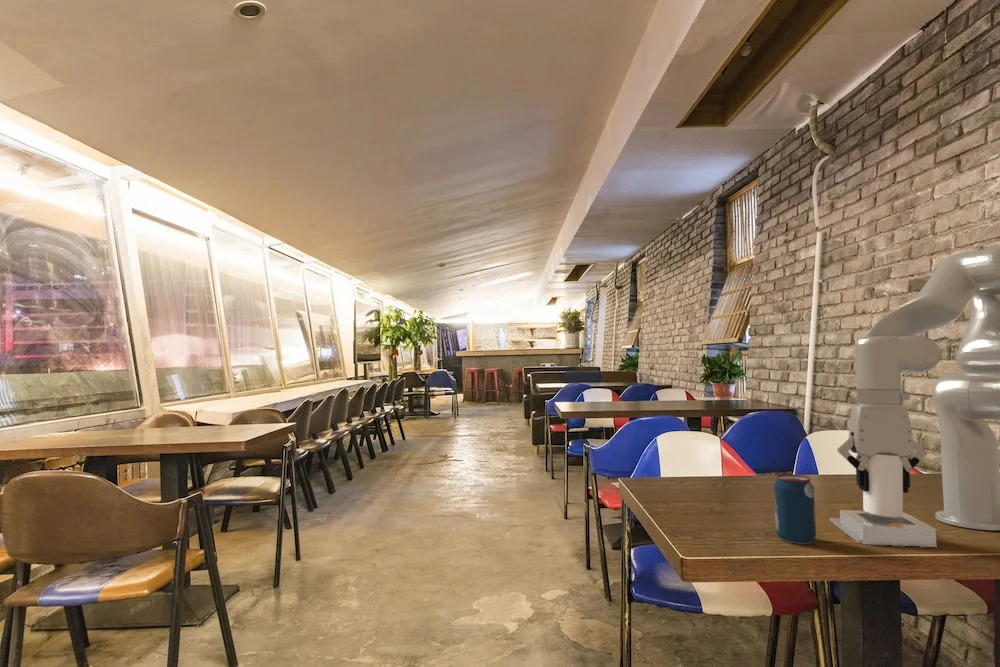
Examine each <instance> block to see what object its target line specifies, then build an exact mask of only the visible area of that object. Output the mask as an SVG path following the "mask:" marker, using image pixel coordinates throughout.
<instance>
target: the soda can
mask: <svg viewBox="0 0 1000 667" xmlns="http://www.w3.org/2000/svg"><path fill="white" fill-rule="evenodd" d="M773 493H774V496H773V498H774V518H775V519H774V521H775V522H774V523H775V524H774V525H775V533H776V535H777V537H778V538H779V539H780V540H781V541H782V540H783V541H782V542H784V541H786V542H785V543H788V542H791V543H790V544H792V543H797V544H796V545H810V544H812V543H813V542H814V540H815V539H816V536H817V531H816V527H817V526H816V508H815V507H816V506H815V487H814V486H813V483H812V482H811V478H810V477H809V476H805V475H801V474H800V475H797V474H779V475H777V476H776V480H775V481H774V484H773Z"/></svg>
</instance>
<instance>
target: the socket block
mask: <svg viewBox="0 0 1000 667" xmlns="http://www.w3.org/2000/svg"><path fill="white" fill-rule="evenodd" d="M829 522H831V523H832V522H833V523H832V524H833V525H835V526H836V527H837V528H839V529H840V530H841V531H842V532H844V533H845V534H846V535H848V537H851V538H852V539H853V540H854V541H856V542H857V543H861V544H863V545H866V544H867V545H868V546H885V545H892V546H891V547H905V546H920V547H919V548H925V547H936V548H935V549H937V548H938V545H937V544H938V543H937V530H936V528H935V527H934V526H931V525H929V524H927V523H926V522H924V521H921V520H920V519H918V518H916V517H914V516H913V515H911V514H908V513H906V512H903V515H902V516H901V517H900V518H884V517H878V516H873V515H870V514H867V513H866V512H865V511H864V510H855V509H854V510H852V509H849V510H848V509H840V510H839V517H829ZM900 545H901V546H900ZM903 545H904V546H903Z"/></svg>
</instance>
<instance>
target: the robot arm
mask: <svg viewBox="0 0 1000 667" xmlns="http://www.w3.org/2000/svg"><path fill="white" fill-rule="evenodd" d="M967 306H969V309H970V318H969V321H968V324H967V326H966V329H965V331H964V334H963V336H962V338H961V341H960V344H959V346H958V349H957V351H956V356H955V360H956V364H957V366H958V368H959V369H960V370H962V372H955V373H953V372H952V373H947V374H945V375H942V376H940V377H938V378H937V379H936V380H935V382H934V383H933V385H932V387H931V397H932V403H933V406H934V409H935V412H936V417H937V422H938V429H939V441H940V458H941V477H942V478H941V479H942V480H941V482H942V495H943V510H938V511H936V512H935V513H934V514H935V519H936V520H937V521H940V522H941V523H943V524H948V525H951V526H955V527H959V528H965V529H972V530H980V531H997V532H998V531H1000V461H999V460H1000V457H999V442H998V439H997V436H996V435H995V432H994V430H992V428H991V427H990V426H989V424H988V423H987V422H986V420H995V421H1000V246H995V247H989V248H984V249H983V248H982V249H978V250H976V249H975V250H971V251H966V252H960V253H959V252H958V253H955V254H953V255H952V254H951V255H949V256H948V257H946V258H944V259H943V260H942V261H941V262H940V263H939V264H938V265H937V267H936V268H935V270H934V271H933V273H932V274H931V276H930V277H929V278H928V280H927V281H926V282H925V284H924V285H923V287H921V289H920V291H919V292H918V293H917V295H916V296H915V297H914V298H912V299H910V300H908V301H906V302H905V303H903V304H902V305H900V306H897V308H895V309H894V310H892V311H890V312H888V313H887V314H885V315H884V316H882V317H881V318H879V319H878V320H877V321H876V322H875V323H874V324H873V325H872V326H871V327H870V329H869V330H868V332H867V333H866V335H864V336H863V337H860V338H858V339H856V341H855V343H854V363H855V366H854V368H855V370H854V371H855V383H856V387H855V388H856V404H852V405H851V410H850V416H849V417H850V418H849V426H848V439H847V440H846V441H844V443H842V444H841V445H840V446H839V447H838V448H837V451H836V452H837V453H839V455H841V456H842V457H843V458H844V459H845V460H846V461H847V462H848V463H850V465H852V467H853V468H855V476H856V478H855V479H856V480H855V481H856V485H857V486H858V487H859V489H860V490H861V491H862V492H863V491H869V473H868V471H866V465H867V463H868V460H869V458H870V457H873V456H876V453H877V454H886V455H899V457H900V459H901V461H902V463H903V494H904V493H906V494H909V489H910V488H911V478H910V477H911V476H910V474H911V472H913V469H914V468H915V467H916V466H917V465H918V464H920V461H922V460H923V459H924V458H926V457H927V455H928V451H926V449H925V448H923V447H922V446H921V445H920V444H919V443H918V442H917V441H916V440H914V437H913V436H914V435H913V430H912V429H913V428H912V424H911V419H910V416H909V412H908V409H907V406H906V405H903V404H904V401H908V400H910V397H911V395H910V393H908V392H904V390H903V389H902V374H918V373H919V374H920V373H925V372H929V371H931V370H933V369H934V368H936V367H937V365H939V364H938V363H939V362H940V360H941V356H942V355H941V349H940V347H939V345H938V344H937V343H936V341H935V340H933V339H931V338H929V337H927V336H923V335H919V334H923V333H926V332H930V331H933V330H936V329H939V328H941V327H943V326H947V325H949V324H952V323H953V322H955V321H956V320H957V319H958V318H959V317H960V316H961V314H962V313H963V312H964V310H965V308H966V307H967ZM851 452H852V453H854V454H856V456H853V455H852V454H851Z"/></svg>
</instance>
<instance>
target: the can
mask: <svg viewBox="0 0 1000 667" xmlns="http://www.w3.org/2000/svg"><path fill="white" fill-rule="evenodd" d="M866 471H868V473H869V491H863V490H862V511H865V512H866V513H867V514H870V515H873V516H878V517H884V518H900V517H901V516H902V515H903V511H904V505H903V504H904V502H903V501H904V496H903V495H904V492H903V463H902V461H901V459H900V457H899V455H886V454H877V453H876V456H873V457H870V458H869V460H868V463H867V465H866Z"/></svg>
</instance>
